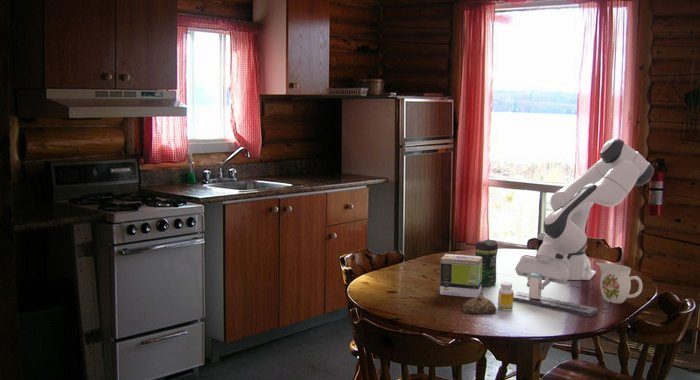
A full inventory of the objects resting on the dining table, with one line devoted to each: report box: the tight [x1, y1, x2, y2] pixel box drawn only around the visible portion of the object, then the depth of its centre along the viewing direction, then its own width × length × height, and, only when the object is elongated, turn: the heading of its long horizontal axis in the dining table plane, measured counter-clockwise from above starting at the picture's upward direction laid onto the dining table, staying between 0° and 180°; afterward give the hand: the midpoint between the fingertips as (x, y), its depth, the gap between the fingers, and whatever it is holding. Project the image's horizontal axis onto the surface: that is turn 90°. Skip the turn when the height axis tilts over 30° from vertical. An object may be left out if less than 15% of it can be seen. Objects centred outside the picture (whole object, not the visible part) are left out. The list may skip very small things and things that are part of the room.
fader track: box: [513, 291, 599, 318], centre depth 273 cm, size 8×32×2 cm, turn 50°
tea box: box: [439, 253, 483, 298], centre depth 287 cm, size 15×10×15 cm
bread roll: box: [461, 295, 497, 315], centre depth 267 cm, size 13×12×5 cm
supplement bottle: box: [497, 281, 515, 312], centre depth 267 cm, size 5×5×10 cm
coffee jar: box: [474, 239, 499, 287], centre depth 301 cm, size 10×8×19 cm
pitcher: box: [595, 262, 644, 304], centre depth 279 cm, size 11×18×14 cm, turn 51°
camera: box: [536, 233, 546, 253], centre depth 360 cm, size 14×9×10 cm, turn 49°
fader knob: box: [528, 273, 543, 299], centre depth 276 cm, size 3×4×9 cm
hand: (534, 287), depth 276 cm, fingers closed on fader knob, 3 cm apart
